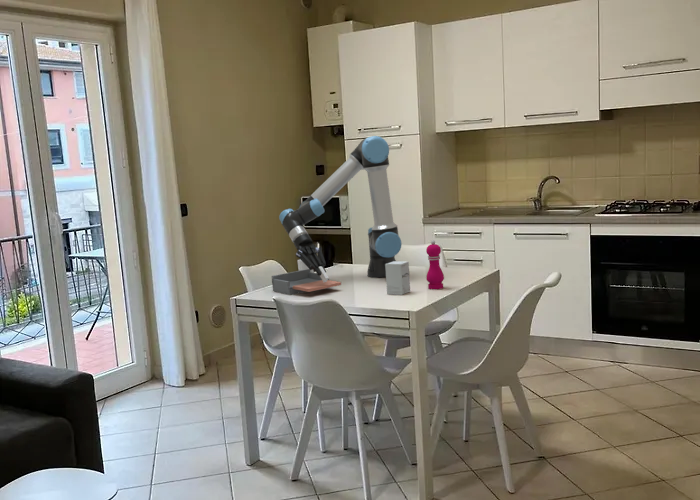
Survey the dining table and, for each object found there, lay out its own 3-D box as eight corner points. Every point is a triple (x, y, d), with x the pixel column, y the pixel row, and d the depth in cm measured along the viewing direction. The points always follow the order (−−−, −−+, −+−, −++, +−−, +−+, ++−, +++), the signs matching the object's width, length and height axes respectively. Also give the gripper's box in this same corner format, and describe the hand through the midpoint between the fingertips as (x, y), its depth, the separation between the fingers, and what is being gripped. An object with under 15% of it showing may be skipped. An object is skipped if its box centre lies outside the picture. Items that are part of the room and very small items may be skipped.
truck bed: (271, 291, 311) (270, 276, 310) (310, 283, 324) (309, 268, 323) (290, 295, 299) (288, 279, 298) (329, 286, 312) (328, 271, 311)
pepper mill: (446, 286, 293) (443, 238, 290) (442, 289, 286) (439, 241, 284) (429, 286, 295) (426, 239, 293) (425, 290, 289) (422, 241, 286)
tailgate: (292, 286, 301) (308, 289, 291) (324, 279, 311) (341, 282, 301) (292, 290, 301) (308, 293, 291) (325, 283, 311) (341, 286, 301)
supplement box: (402, 295, 282) (400, 264, 280) (386, 294, 286) (384, 263, 284) (411, 291, 288) (409, 261, 287) (395, 290, 292) (393, 260, 291)
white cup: (313, 281, 329) (311, 260, 328) (297, 282, 331) (295, 261, 329) (317, 278, 337) (315, 257, 335) (301, 279, 338) (299, 258, 337)
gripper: (310, 242, 312) (335, 283, 301) (285, 246, 304) (310, 288, 293) (316, 231, 307) (341, 271, 296) (291, 235, 299) (316, 276, 288)
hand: (326, 280), depth 295 cm, fingers closed
